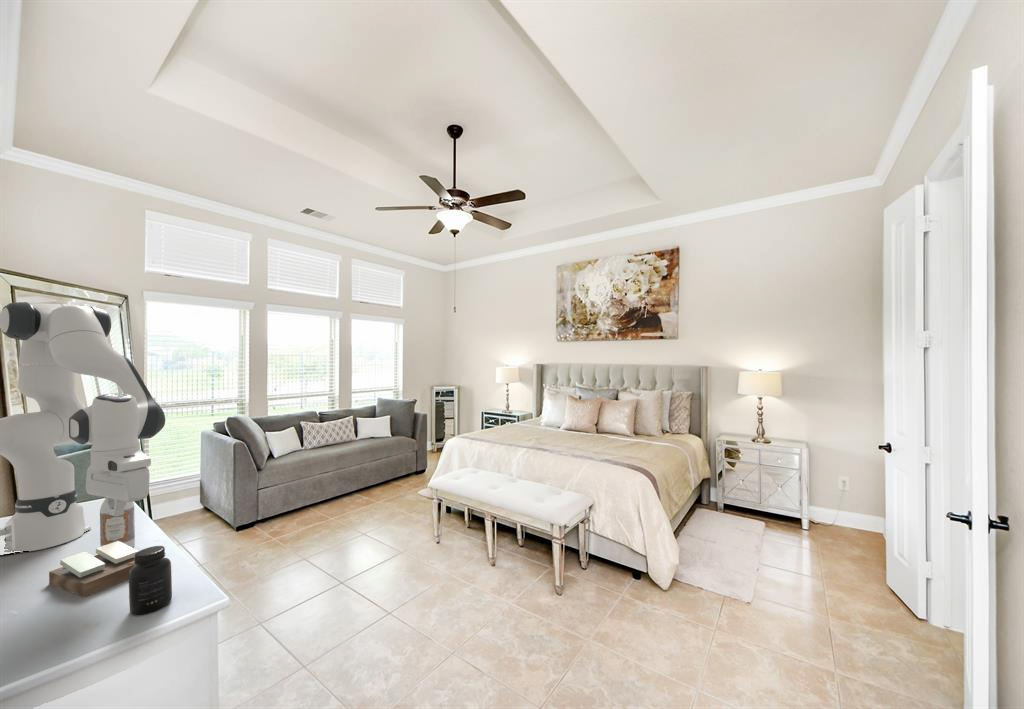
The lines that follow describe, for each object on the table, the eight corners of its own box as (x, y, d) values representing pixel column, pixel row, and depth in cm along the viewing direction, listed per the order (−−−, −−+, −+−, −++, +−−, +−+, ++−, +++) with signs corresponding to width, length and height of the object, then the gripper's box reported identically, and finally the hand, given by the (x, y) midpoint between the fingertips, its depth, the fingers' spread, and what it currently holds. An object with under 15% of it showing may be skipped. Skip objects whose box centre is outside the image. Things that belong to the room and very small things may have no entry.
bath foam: (97, 558, 110) (95, 484, 110) (104, 548, 115) (103, 478, 116) (131, 551, 114) (130, 479, 114) (137, 542, 119) (136, 473, 120)
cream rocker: (95, 552, 102) (96, 548, 102) (118, 545, 106) (118, 540, 106) (115, 563, 99) (116, 559, 99) (137, 555, 103) (138, 550, 103)
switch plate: (49, 584, 97) (49, 567, 97) (113, 560, 108) (113, 545, 108) (84, 597, 91) (84, 579, 91) (149, 570, 102) (149, 554, 102)
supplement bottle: (128, 607, 87) (127, 550, 87) (170, 593, 92) (169, 540, 92) (129, 621, 82) (128, 561, 82) (173, 606, 87) (172, 549, 87)
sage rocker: (60, 564, 96) (60, 559, 96) (85, 555, 100) (85, 551, 100) (79, 577, 93) (80, 572, 93) (104, 568, 97) (105, 563, 97)
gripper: (76, 459, 102) (76, 514, 102) (123, 465, 95) (123, 525, 95) (108, 453, 108) (109, 505, 108) (155, 459, 101) (155, 515, 100)
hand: (116, 514), depth 101 cm, fingers closed
